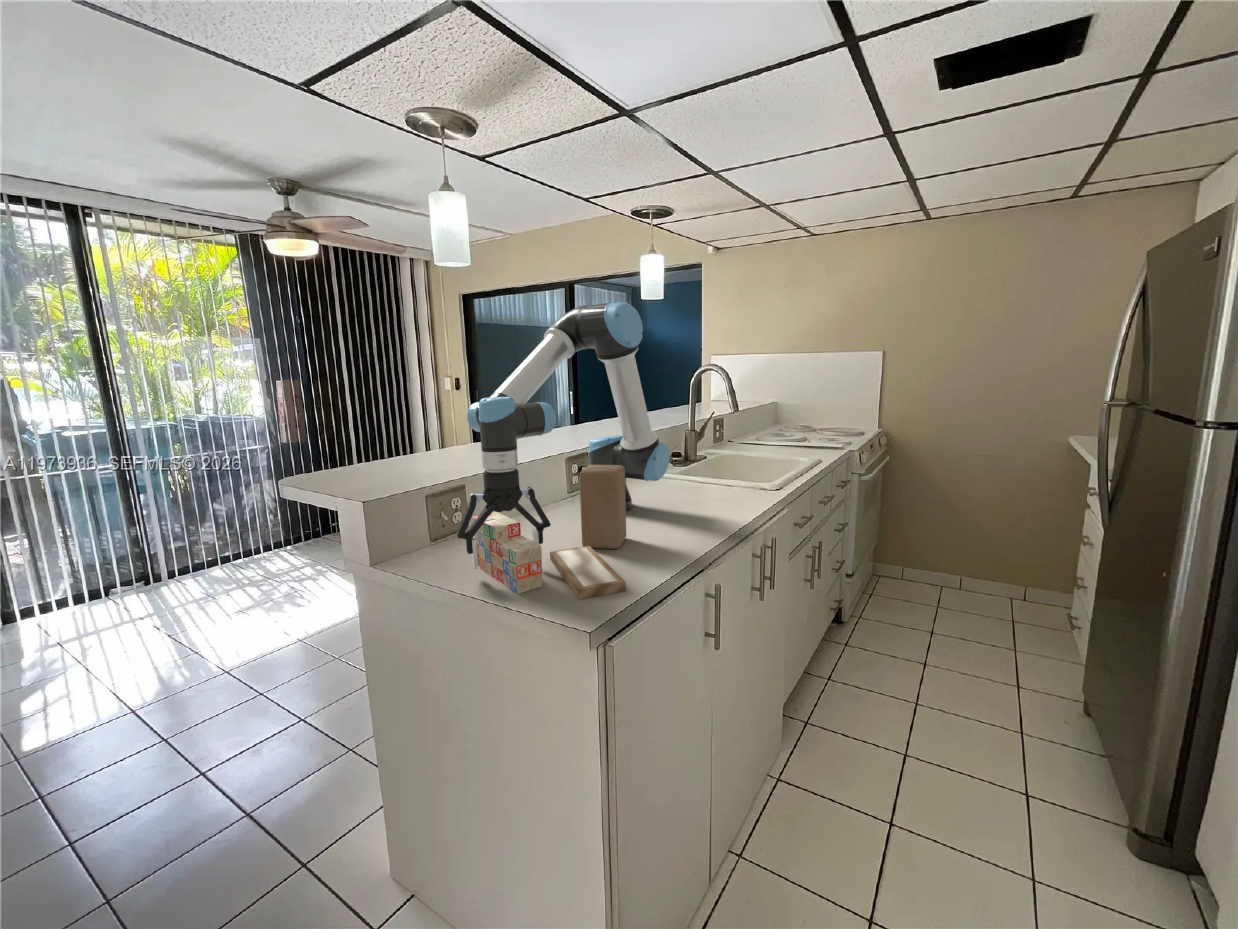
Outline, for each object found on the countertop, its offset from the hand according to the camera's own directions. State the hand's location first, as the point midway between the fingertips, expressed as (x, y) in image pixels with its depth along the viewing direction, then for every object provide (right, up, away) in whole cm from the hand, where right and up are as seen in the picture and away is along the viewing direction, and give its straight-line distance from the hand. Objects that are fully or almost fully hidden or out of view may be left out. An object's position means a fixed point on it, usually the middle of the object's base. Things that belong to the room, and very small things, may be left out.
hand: (506, 562), depth 120 cm
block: (+21, +1, +20) cm, 29 cm away
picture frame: (+18, -3, 0) cm, 18 cm away
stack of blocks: (0, -3, 0) cm, 3 cm away
